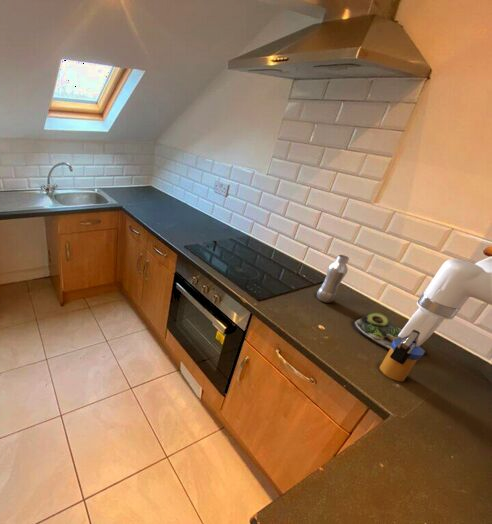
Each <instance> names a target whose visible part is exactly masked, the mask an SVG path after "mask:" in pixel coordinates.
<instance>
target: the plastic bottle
mask: <svg viewBox="0 0 492 524" xmlns="http://www.w3.org/2000/svg"><path fill="white" fill-rule="evenodd" d="M349 260H350V256H349V257H348V256H346V255H345V254H338V256H337V258H336V260H335V261H333V262H332V263H330V265H329V266H328V267H327V272H326V275H325V278H324V280H323V282H322V283H321V286H320V287H319V289H318V290H317V292H316V297H317V299H318V300H319V301H321V302H323V303H325V304H327V303H328V304H329V303H332V302H334V300H335V299H336V296H337V292H338V289H339V286H340V284H341V282H342V281H343V279H344V278H345V277H346V275H347V273H348V270H349V269H348V266H347V264H348V263H349Z"/></svg>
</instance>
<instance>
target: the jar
mask: <svg viewBox="0 0 492 524" xmlns="http://www.w3.org/2000/svg"><path fill="white" fill-rule="evenodd" d="M393 351H394V350H393V349H392V347H391V348H390V350H389V349H388V351H387V353H386V355H385V357H384V358H383V360H382V362H381V363H380V365H379V370H380V371H381V373H382V374H383V375H385V376H386V377H388V378H390V379H392V380H394V381H396V382H404V381H405V380H406V379H407V377H408V376H409V374H410V373H411V371H412V370H413V369H414V367H415V365H416V364H417V362H418V360H413V359H409V358H408V359H407V360H406V361H405V363H404V364H400V363H399V362H397V361H395V360H393V359H392V358H390V356H391V354H392V353H393Z"/></svg>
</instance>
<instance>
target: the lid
mask: <svg viewBox="0 0 492 524" xmlns="http://www.w3.org/2000/svg"><path fill="white" fill-rule="evenodd" d="M402 340H403V339H402V338H395V339H394V340H393V341H392V343H391V347H392V349H393V350H395V348H396V347H397V346H399V344H400V343H401V342H402ZM412 343H413V342H412ZM414 344H415V343H414ZM409 347H410V348H411V347H412V345H411V344H410V346H409ZM423 350H424V349H423V347H421V345H420V346H415V347H414V349H413V350H412V351H411V352H410V353H411V355H410V356H409V357H408V358H409V359H413V360H417V361H420V360H421V359H422V358H423V357H424V354H425V352H424V351H425V350H424V351H423Z"/></svg>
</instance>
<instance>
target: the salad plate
mask: <svg viewBox="0 0 492 524" xmlns="http://www.w3.org/2000/svg"><path fill="white" fill-rule="evenodd" d="M353 325H354V328H355V330H356V331H357V332H358V333H359V334H360V335H362V336H363V337H365V338H366V339H369V340H370V341H372V342H373V343H376V344H377V345H379V346H380V347H383V348H385V349H387V350H388V351H389V350H390V348H391V343H392V341H393V340H394V339H395V338H399V337H398V335H399V333H400V332H401V331H402V329H401V328H399V327H398V326H397V325H395V324H393V323H392V322H391V321H390V320H389V318H388V317H387V316H386V315H385V314H383V313H380V312H370V313H368V314H366V316H363V317H361V318H359V319H356V321H354V322H353ZM400 338H401V337H400ZM404 338H405V337H404ZM404 338H402V339H404ZM423 351H424V353H426V351H425V350H424V349H423Z"/></svg>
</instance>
